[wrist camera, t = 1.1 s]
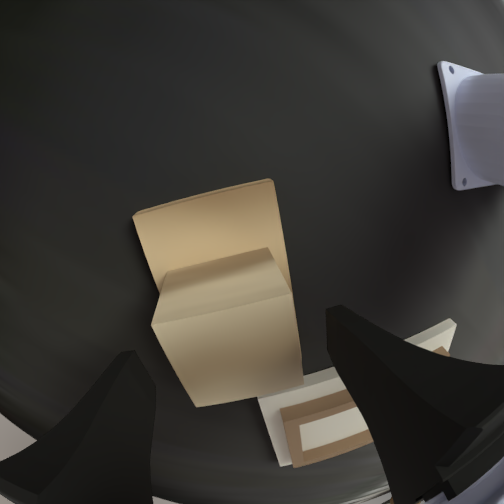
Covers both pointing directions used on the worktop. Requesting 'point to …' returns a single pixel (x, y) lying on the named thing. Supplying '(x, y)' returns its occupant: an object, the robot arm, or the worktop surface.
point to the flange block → (223, 293)
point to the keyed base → (328, 410)
